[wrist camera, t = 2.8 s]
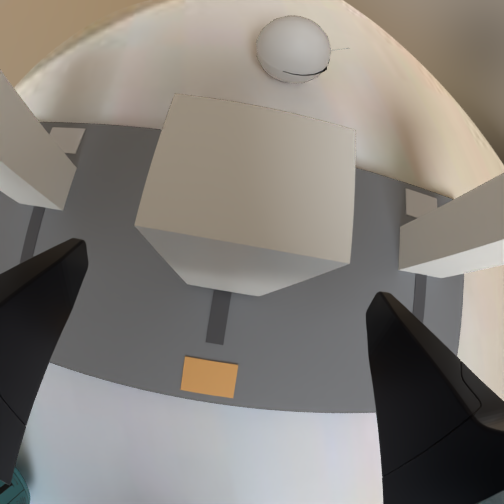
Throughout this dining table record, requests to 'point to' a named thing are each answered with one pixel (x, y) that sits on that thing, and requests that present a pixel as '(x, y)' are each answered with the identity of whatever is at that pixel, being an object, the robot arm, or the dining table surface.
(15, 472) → the beverage bottle
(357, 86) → the dining table surface
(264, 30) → the white sphere
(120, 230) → the three pillar stand
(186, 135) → the block
